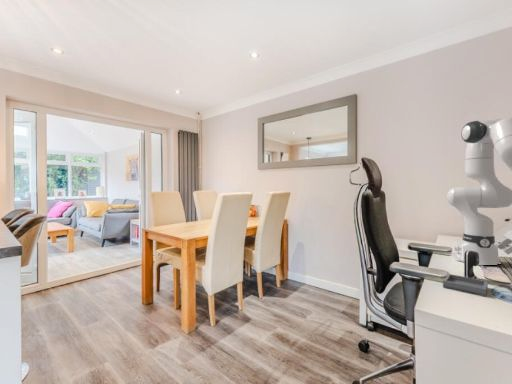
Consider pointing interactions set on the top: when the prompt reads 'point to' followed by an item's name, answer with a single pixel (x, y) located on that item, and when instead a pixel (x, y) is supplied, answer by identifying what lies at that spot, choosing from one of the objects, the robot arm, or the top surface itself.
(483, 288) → the grey tray
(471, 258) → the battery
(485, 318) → the top surface
